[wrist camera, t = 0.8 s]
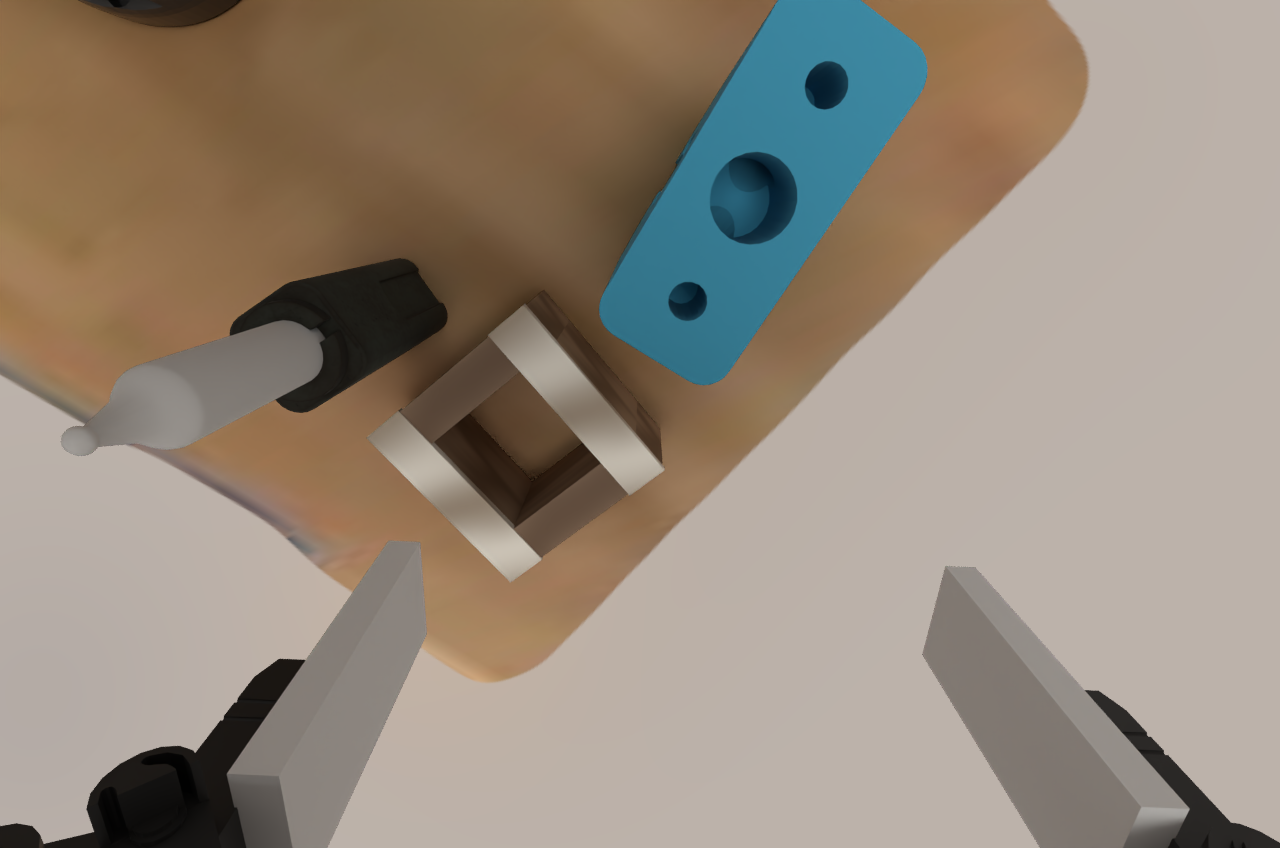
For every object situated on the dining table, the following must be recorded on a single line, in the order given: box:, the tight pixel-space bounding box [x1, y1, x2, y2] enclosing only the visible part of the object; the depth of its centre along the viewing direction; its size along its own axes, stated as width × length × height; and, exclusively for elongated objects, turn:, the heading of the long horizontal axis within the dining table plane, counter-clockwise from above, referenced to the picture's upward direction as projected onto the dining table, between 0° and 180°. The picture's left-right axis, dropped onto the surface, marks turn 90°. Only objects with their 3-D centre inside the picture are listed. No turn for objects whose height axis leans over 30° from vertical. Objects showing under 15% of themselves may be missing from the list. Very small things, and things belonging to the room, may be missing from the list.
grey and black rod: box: [61, 258, 447, 456], centre depth 29 cm, size 5×5×25 cm
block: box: [599, 0, 927, 385], centre depth 29 cm, size 12×5×20 cm, turn 148°
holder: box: [367, 290, 665, 582], centre depth 40 cm, size 12×12×7 cm
